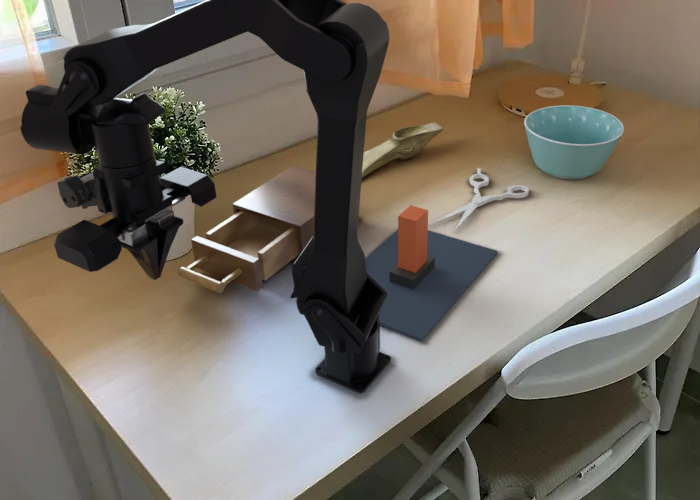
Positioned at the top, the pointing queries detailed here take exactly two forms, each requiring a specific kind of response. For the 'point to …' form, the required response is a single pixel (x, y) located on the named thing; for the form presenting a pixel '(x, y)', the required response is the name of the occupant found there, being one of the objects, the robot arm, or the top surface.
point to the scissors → (484, 197)
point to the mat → (426, 282)
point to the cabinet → (285, 202)
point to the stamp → (412, 248)
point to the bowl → (571, 139)
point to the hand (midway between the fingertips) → (154, 277)
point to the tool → (400, 146)
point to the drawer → (242, 252)
